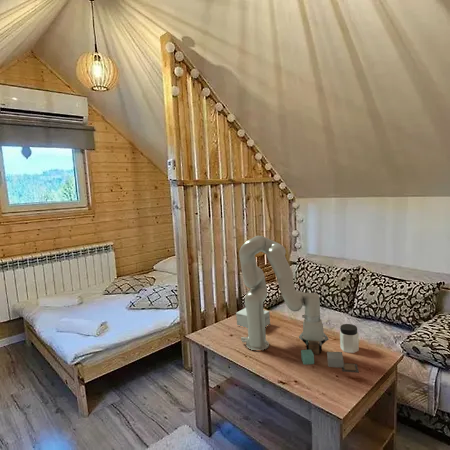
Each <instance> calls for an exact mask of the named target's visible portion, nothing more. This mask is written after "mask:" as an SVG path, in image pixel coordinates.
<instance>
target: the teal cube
mask: <svg viewBox="0 0 450 450" xmlns="http://www.w3.org/2000/svg"><path fill="white" fill-rule="evenodd" d="M300 357H301V361H302V364H303V365H314V364H315V354H313V352H312V350H306V349H301V350H300Z"/></svg>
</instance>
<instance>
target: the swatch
mask: <svg viewBox="0 0 450 450" xmlns="http://www.w3.org/2000/svg"><path fill="white" fill-rule="evenodd" d="M341 371H342V373H343V372H344V373H345V372H347V373H359V372H360V371H359V368H358V364H357V363H350V362H349V363H347V362H344V367H341Z"/></svg>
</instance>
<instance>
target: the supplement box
mask: <svg viewBox="0 0 450 450" xmlns="http://www.w3.org/2000/svg"><path fill="white" fill-rule="evenodd" d="M235 314H236V315H235V316H236V326H237V325H240V326H243V327H246V328H248V325H247V312H246V307H244V308H242V309H241V310H239V311H237V312H235ZM264 317H265V327H266V326H267V325H269V324H270V325H271V316H270V311H269V310H266V309H265V310H264ZM270 325H269V326H270ZM266 328H267V327H266Z"/></svg>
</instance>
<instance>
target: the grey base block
mask: <svg viewBox="0 0 450 450" xmlns="http://www.w3.org/2000/svg"><path fill="white" fill-rule="evenodd" d="M326 355H327V366H328V368H342V367H344V363H345V362H344V356H343V351H326Z"/></svg>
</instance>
